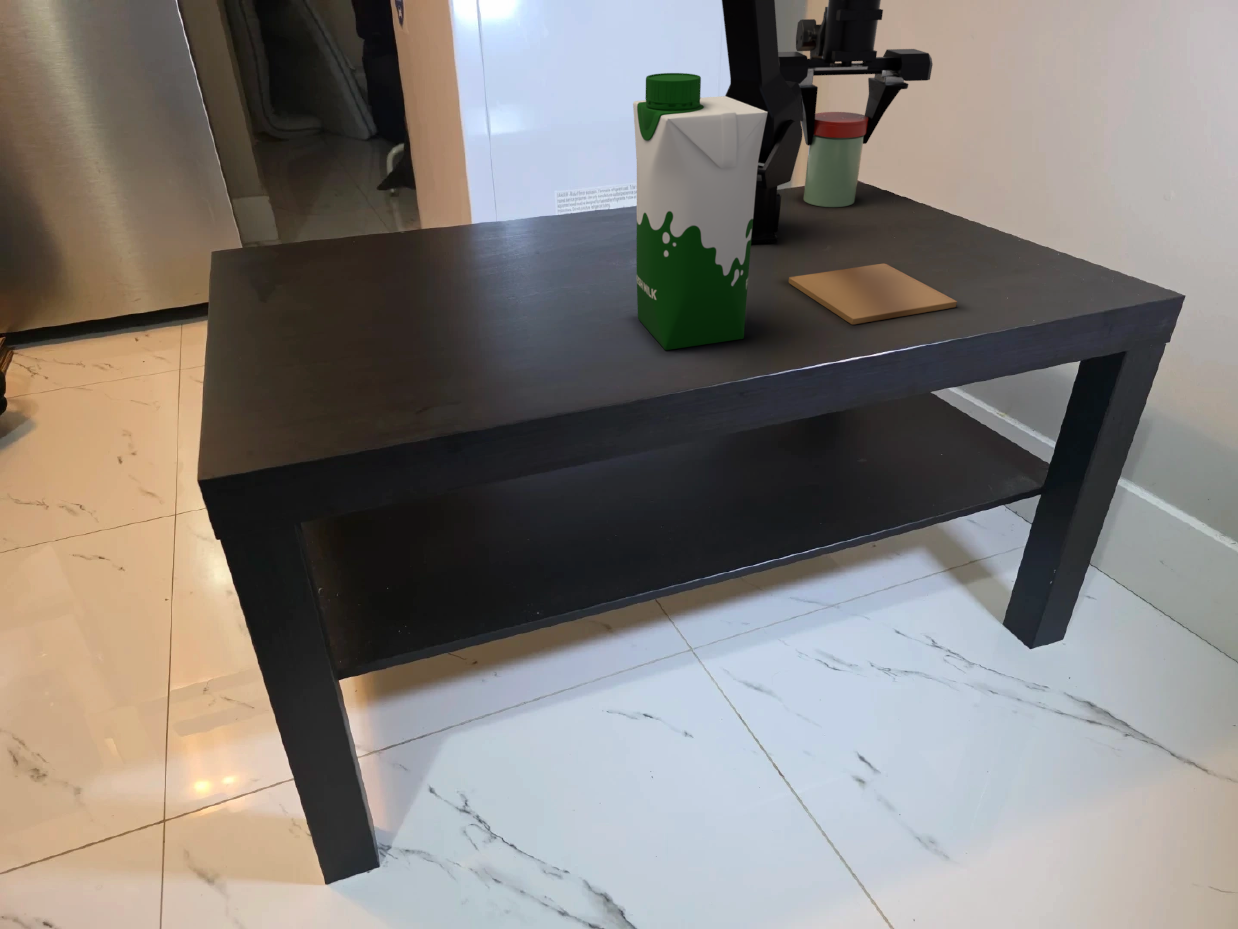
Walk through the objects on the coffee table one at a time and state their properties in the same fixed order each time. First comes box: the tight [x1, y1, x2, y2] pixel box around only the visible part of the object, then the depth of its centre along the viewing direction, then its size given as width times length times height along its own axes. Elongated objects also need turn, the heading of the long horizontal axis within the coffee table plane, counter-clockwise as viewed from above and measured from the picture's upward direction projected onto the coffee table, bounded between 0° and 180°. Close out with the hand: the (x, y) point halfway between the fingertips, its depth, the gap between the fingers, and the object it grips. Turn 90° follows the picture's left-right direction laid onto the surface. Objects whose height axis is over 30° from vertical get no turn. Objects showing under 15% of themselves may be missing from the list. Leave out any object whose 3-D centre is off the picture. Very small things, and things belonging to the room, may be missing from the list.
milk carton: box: [632, 72, 768, 351], centre depth 65 cm, size 9×9×20 cm
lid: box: [814, 111, 868, 138], centre depth 99 cm, size 7×7×2 cm
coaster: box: [788, 262, 958, 326], centre depth 76 cm, size 11×11×1 cm
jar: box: [802, 134, 864, 208], centre depth 101 cm, size 6×6×10 cm
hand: (836, 143), depth 100 cm, fingers closed on lid, 6 cm apart
